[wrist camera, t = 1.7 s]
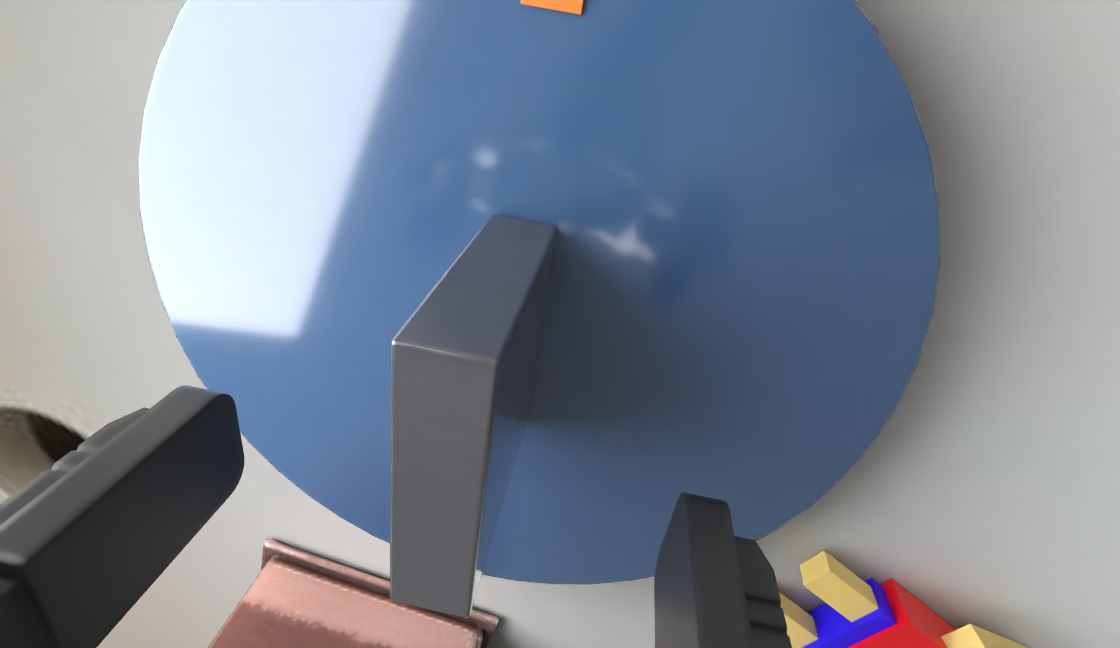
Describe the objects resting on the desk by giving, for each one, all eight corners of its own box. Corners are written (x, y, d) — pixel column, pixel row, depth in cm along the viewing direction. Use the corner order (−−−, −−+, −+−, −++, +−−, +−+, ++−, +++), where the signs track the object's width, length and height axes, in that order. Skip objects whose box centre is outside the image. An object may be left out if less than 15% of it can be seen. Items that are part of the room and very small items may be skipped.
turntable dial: (68, -239, 11) (-635, -554, 5) (1134, -66, 10) (1857, -191, 4) (219, 497, 21) (47, 690, 15) (762, 617, 20) (812, 874, 14)
